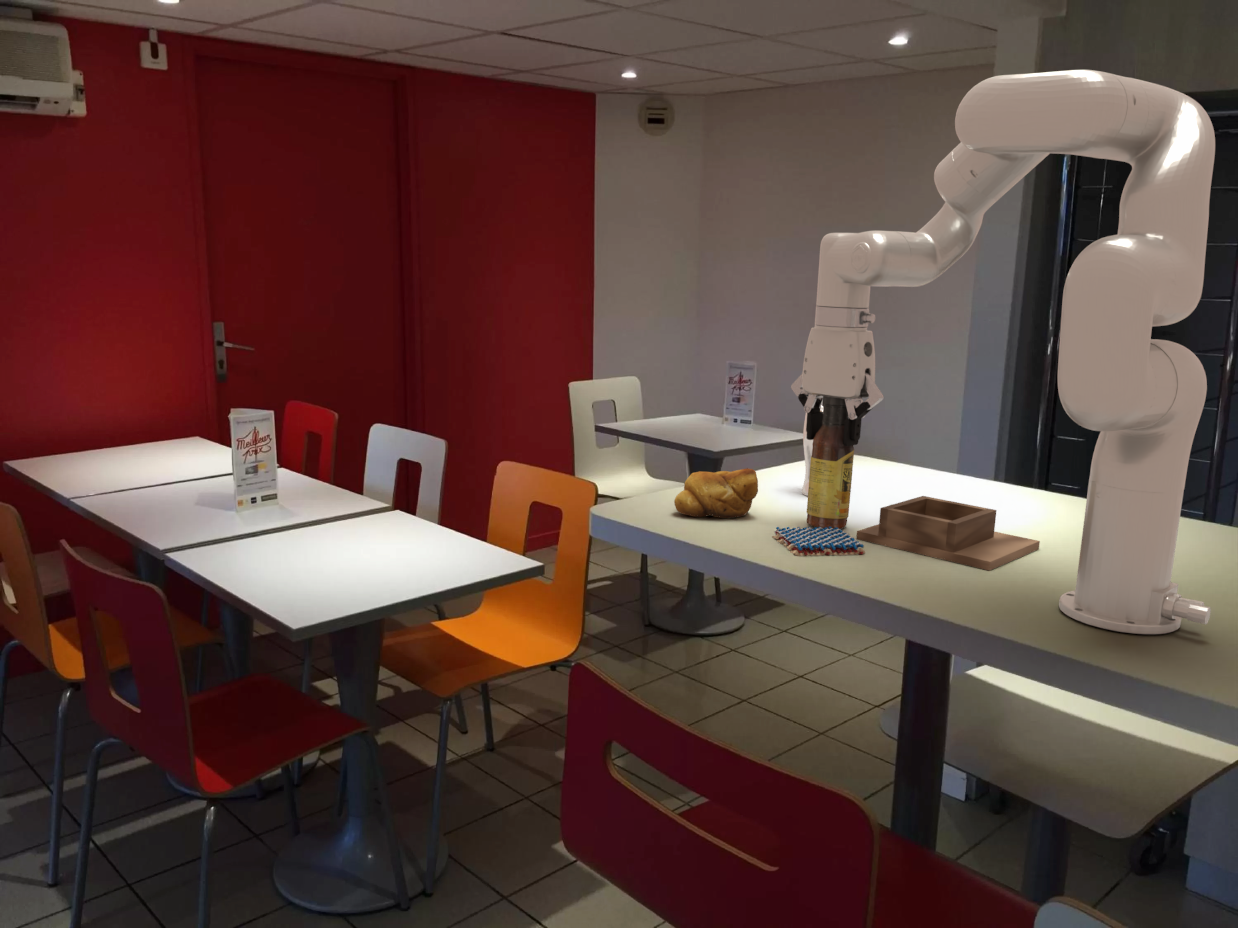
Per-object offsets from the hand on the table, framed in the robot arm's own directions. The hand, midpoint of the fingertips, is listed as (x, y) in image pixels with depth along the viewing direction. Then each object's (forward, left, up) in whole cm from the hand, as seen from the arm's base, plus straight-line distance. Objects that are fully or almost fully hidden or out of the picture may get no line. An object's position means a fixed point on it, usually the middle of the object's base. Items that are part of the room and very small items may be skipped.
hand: (832, 440), depth 151 cm
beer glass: (+13, -18, -13) cm, 26 cm away
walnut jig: (-17, -5, -13) cm, 22 cm away
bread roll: (+16, +8, -13) cm, 22 cm away
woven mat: (-5, +10, -14) cm, 18 cm away
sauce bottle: (0, 0, -13) cm, 13 cm away
